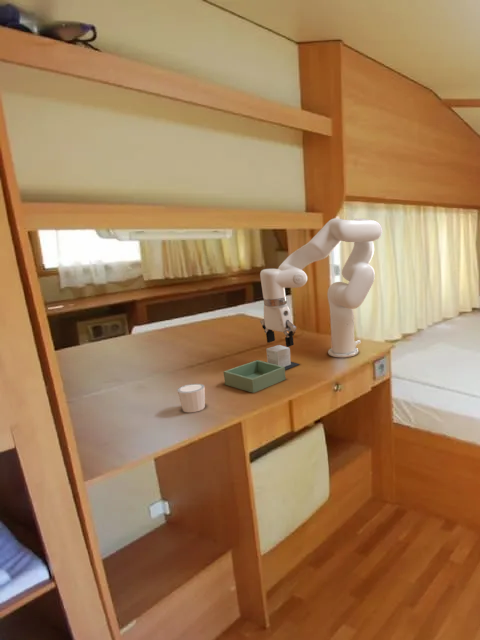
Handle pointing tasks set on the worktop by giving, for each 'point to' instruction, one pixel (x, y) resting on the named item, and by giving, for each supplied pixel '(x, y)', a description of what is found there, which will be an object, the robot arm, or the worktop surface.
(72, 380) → the worktop surface
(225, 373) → the green square tray
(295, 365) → the mat
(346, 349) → the robot arm
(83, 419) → the worktop surface
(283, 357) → the product box
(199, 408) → the shot glass
